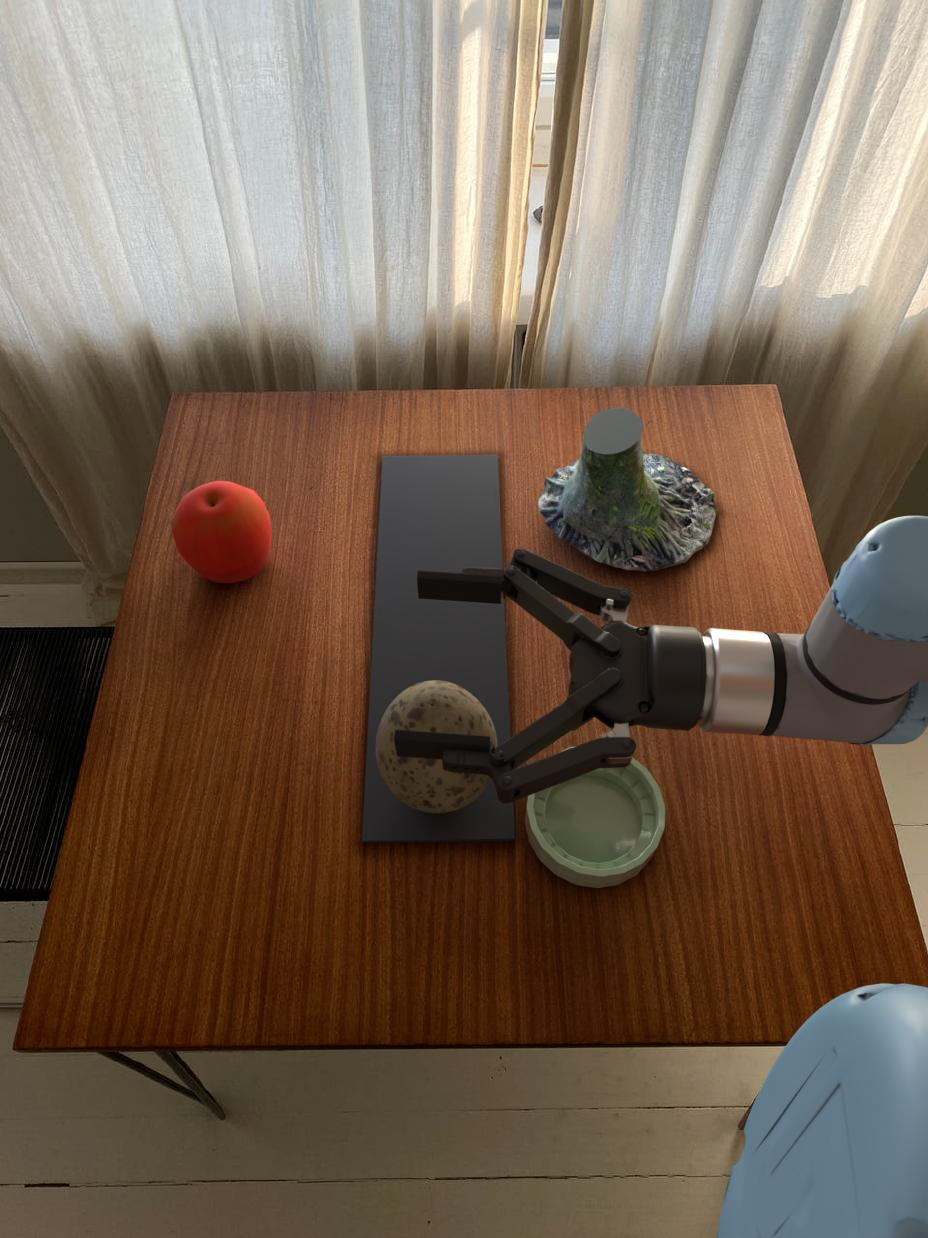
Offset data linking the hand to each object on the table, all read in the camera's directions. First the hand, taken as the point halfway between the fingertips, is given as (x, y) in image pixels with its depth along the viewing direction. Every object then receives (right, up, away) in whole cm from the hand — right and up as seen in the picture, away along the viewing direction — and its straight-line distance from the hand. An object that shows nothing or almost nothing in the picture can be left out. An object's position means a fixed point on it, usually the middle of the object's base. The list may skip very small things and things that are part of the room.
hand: (407, 659), depth 64 cm
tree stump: (+23, +15, +37) cm, 46 cm away
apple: (-21, +9, +34) cm, 41 cm away
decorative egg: (+2, -12, +19) cm, 22 cm away
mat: (+2, +2, +29) cm, 29 cm away
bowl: (+16, -16, +17) cm, 28 cm away
